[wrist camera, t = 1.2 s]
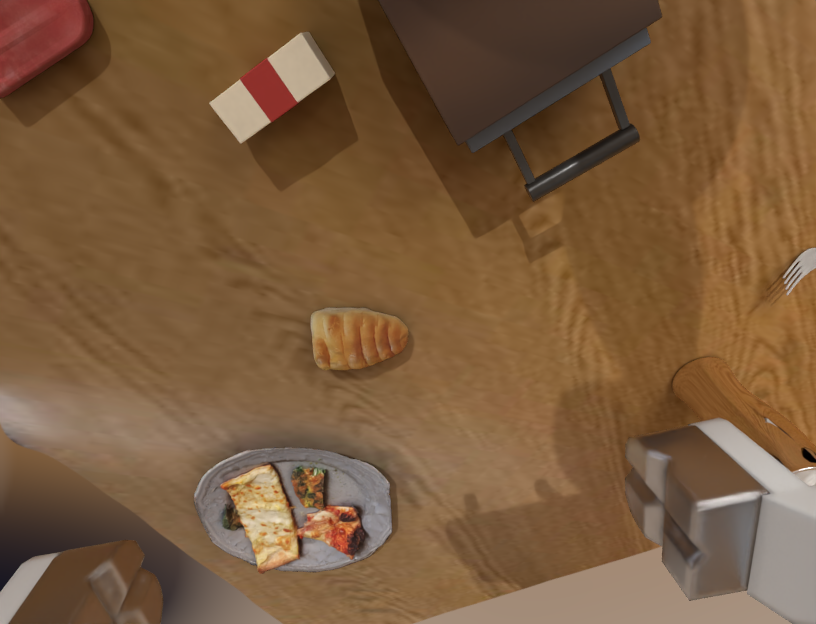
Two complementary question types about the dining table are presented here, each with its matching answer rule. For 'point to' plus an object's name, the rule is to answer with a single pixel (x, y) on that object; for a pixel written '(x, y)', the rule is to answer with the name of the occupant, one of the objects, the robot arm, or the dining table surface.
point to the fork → (801, 267)
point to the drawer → (599, 66)
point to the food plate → (295, 508)
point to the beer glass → (744, 414)
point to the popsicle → (38, 37)
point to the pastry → (355, 337)
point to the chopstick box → (273, 87)
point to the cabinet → (506, 49)
